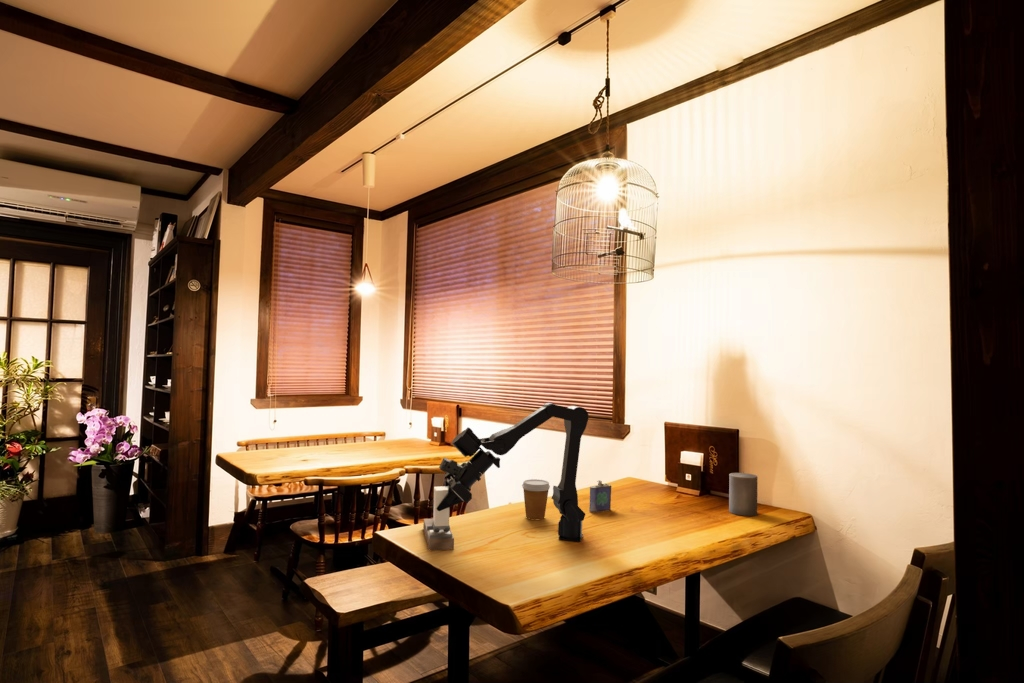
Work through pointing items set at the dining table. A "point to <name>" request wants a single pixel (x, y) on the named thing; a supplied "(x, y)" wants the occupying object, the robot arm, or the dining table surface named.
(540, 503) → the disposable coffee cup
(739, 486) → the pillar candle
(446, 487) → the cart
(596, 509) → the flask
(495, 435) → the robot arm
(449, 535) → the dock
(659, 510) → the dining table surface
